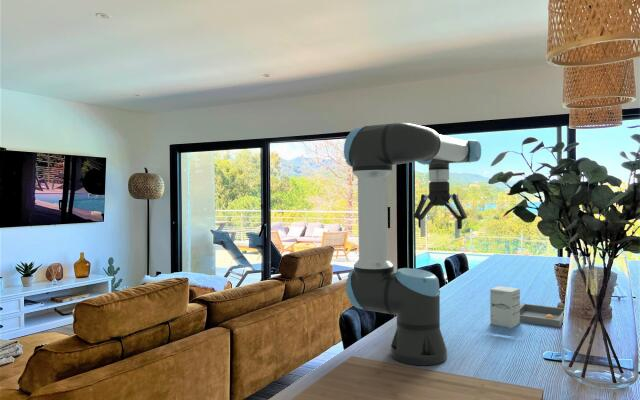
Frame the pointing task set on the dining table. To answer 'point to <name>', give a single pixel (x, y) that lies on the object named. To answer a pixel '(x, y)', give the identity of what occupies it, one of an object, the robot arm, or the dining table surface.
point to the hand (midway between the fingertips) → (439, 237)
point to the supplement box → (505, 306)
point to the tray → (541, 315)
